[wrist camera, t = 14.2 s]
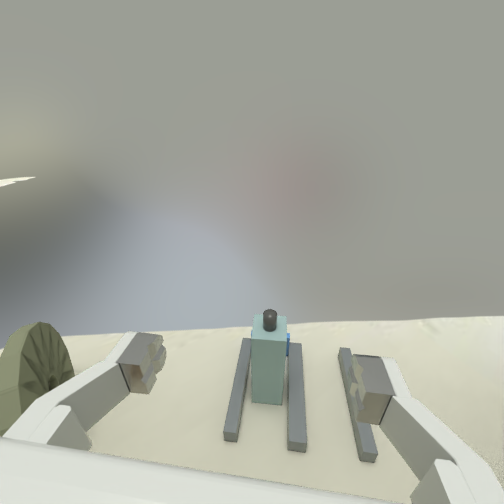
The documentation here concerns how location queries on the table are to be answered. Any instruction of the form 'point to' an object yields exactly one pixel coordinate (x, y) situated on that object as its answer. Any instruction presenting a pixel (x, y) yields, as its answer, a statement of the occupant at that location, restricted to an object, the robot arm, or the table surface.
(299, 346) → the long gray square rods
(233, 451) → the table surface
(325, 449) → the table surface
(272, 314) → the capped teal pillar
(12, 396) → the spool
